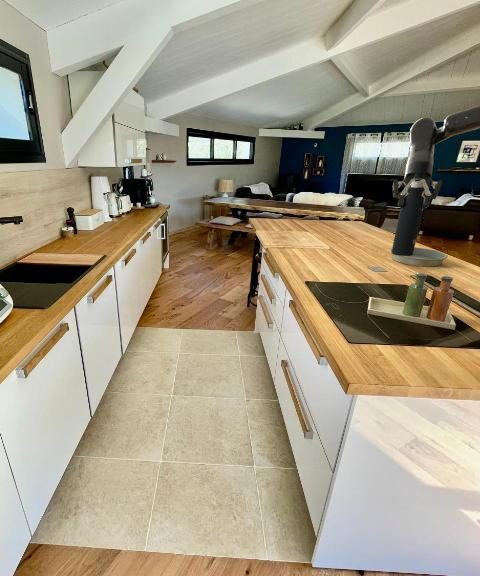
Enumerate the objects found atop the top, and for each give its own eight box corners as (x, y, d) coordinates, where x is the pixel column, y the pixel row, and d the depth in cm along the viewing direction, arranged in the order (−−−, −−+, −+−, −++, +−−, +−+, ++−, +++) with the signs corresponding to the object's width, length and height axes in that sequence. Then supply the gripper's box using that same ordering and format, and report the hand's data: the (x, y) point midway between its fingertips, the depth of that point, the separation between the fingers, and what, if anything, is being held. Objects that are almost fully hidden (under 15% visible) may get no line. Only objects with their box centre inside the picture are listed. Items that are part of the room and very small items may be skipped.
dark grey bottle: (390, 250, 114) (408, 162, 103) (411, 252, 111) (432, 161, 100) (392, 255, 108) (411, 162, 98) (414, 256, 106) (436, 161, 95)
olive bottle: (419, 313, 104) (430, 273, 99) (420, 318, 100) (432, 277, 95) (401, 309, 107) (411, 271, 102) (402, 315, 103) (412, 275, 98)
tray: (447, 315, 104) (449, 309, 103) (454, 331, 94) (456, 325, 93) (368, 301, 115) (369, 296, 114) (367, 314, 105) (368, 309, 104)
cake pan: (390, 264, 157) (392, 255, 156) (386, 252, 178) (387, 245, 176) (451, 270, 147) (454, 261, 146) (438, 257, 168) (441, 249, 166)
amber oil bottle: (443, 317, 101) (456, 276, 96) (446, 323, 97) (459, 281, 92) (425, 313, 104) (436, 274, 99) (426, 319, 100) (438, 278, 95)
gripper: (396, 160, 108) (389, 198, 103) (448, 158, 101) (443, 200, 96) (393, 175, 114) (386, 213, 109) (442, 175, 107) (437, 215, 102)
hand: (413, 206), depth 102 cm, fingers closed on dark grey bottle, 5 cm apart
